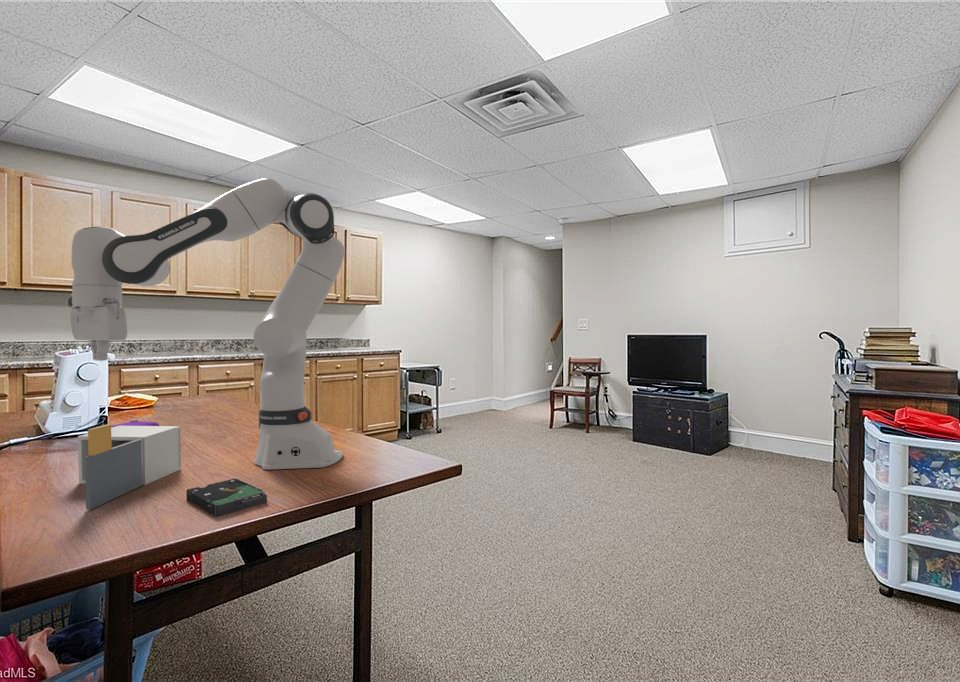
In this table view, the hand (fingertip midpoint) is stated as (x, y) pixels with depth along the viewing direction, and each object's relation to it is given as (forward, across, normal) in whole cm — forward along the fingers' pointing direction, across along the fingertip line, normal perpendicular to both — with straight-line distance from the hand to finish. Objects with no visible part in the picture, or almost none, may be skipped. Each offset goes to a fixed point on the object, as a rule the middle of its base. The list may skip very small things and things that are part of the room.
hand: (100, 360), depth 110 cm
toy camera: (+29, +19, -15) cm, 38 cm away
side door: (+28, -12, +2) cm, 31 cm away
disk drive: (+30, -34, -9) cm, 46 cm away
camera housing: (+29, +2, -6) cm, 29 cm away
